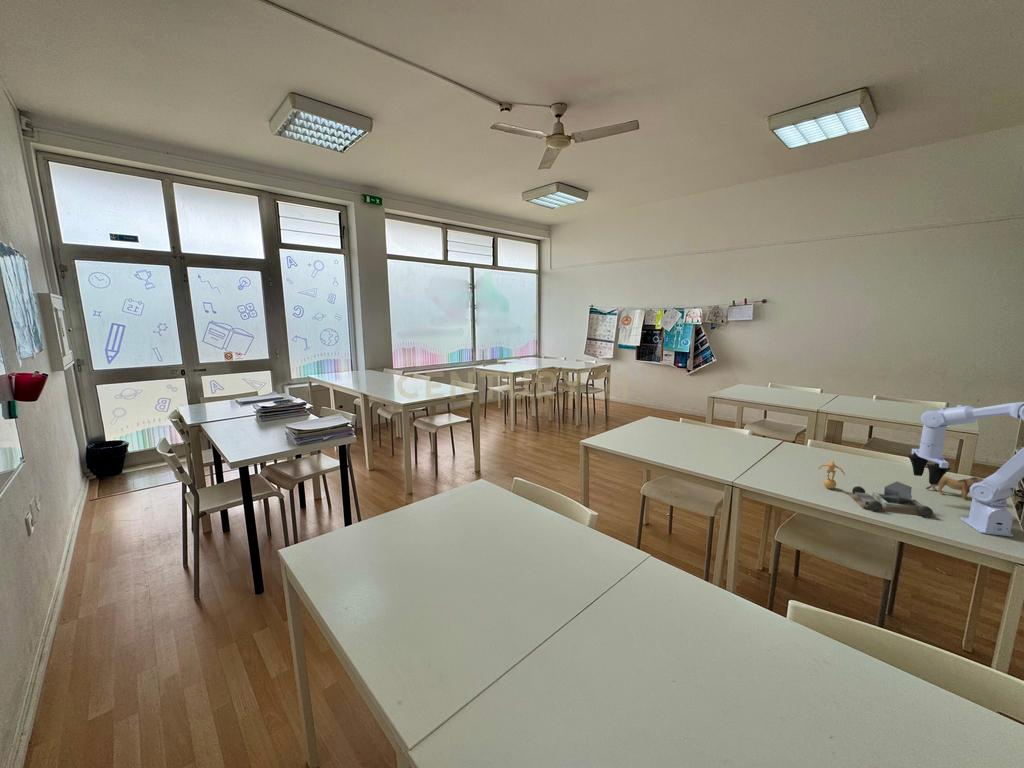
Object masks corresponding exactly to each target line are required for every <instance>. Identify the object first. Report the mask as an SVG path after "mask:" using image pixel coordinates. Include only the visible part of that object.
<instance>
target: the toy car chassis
mask: <svg viewBox="0 0 1024 768" xmlns="http://www.w3.org/2000/svg"><path fill="white" fill-rule="evenodd" d="M848 496H849V497H850V498H851V499H853V500H854V502H855V503H857V505H858V506H860V507H861V508H862V509H863V510H871V511H872V512H880V511H881V512H889V513H896V514H905V515H906V514H907V515H915V516H920V517H923V518H930V517H935V515H936V513H934V510H933V509H932V508H931V507H929V506H928V505H923V504H922V503H920V502H919V501H918V500H916V499H912V495H911V502H909V503H906V504H896V503H888V502H887V501H885V500H884V493H882V492H881V493H880V492H872V495H871V494H869V493H867V492H866V490H865V488H863V487H862V486H858V485H857V486H854V487H853V488H852V492H851V493H850V492H849V495H848Z"/></svg>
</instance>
